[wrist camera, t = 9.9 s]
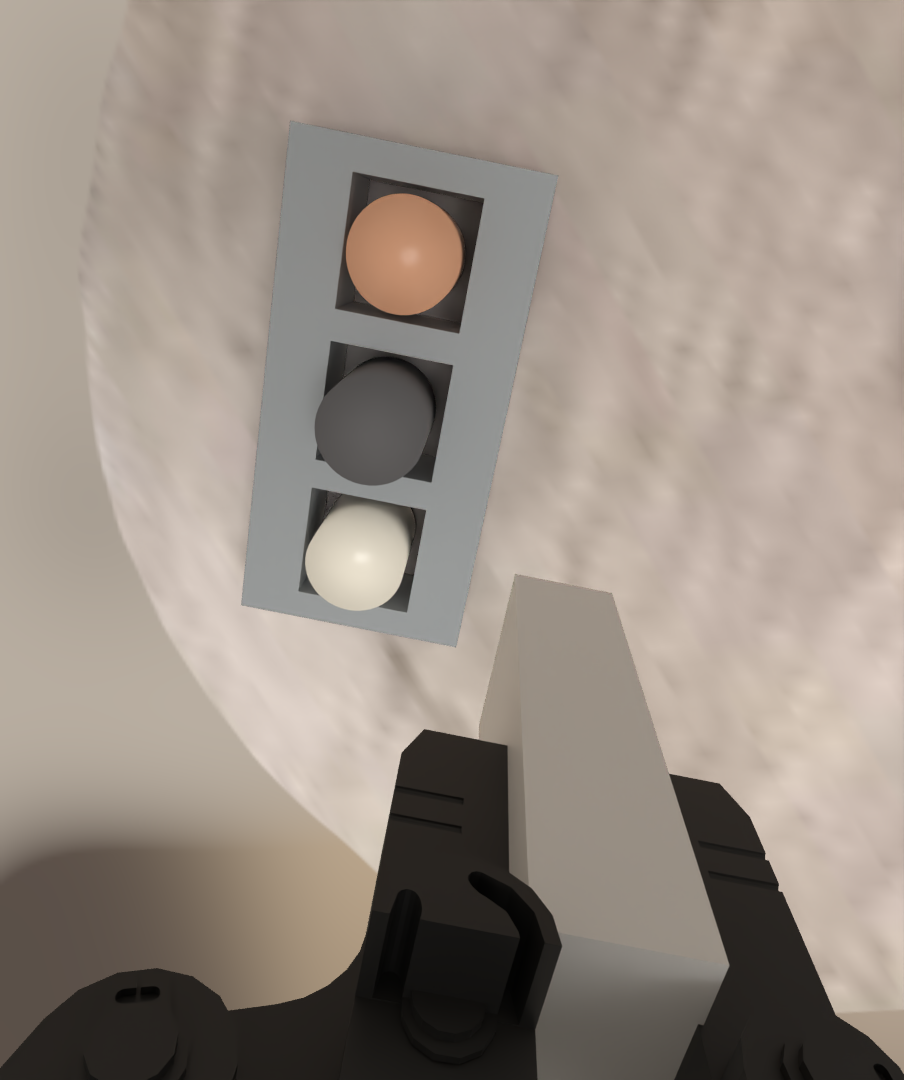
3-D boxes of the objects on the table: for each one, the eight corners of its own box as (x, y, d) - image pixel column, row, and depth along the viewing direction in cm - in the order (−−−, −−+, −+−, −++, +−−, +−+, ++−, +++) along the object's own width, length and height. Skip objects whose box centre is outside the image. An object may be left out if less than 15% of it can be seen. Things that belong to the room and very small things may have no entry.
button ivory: (335, 476, 44) (311, 510, 39) (422, 493, 44) (410, 530, 39) (324, 556, 46) (299, 600, 41) (407, 573, 46) (394, 619, 41)
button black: (347, 347, 40) (321, 365, 34) (444, 367, 40) (434, 388, 34) (334, 442, 42) (308, 474, 36) (426, 461, 42) (415, 495, 36)
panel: (315, 135, 39) (290, 120, 34) (551, 183, 39) (558, 175, 35) (266, 569, 48) (241, 605, 43) (460, 607, 48) (455, 647, 43)
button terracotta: (375, 191, 39) (354, 182, 33) (474, 211, 39) (469, 206, 33) (360, 294, 41) (338, 303, 35) (455, 313, 41) (448, 325, 35)
